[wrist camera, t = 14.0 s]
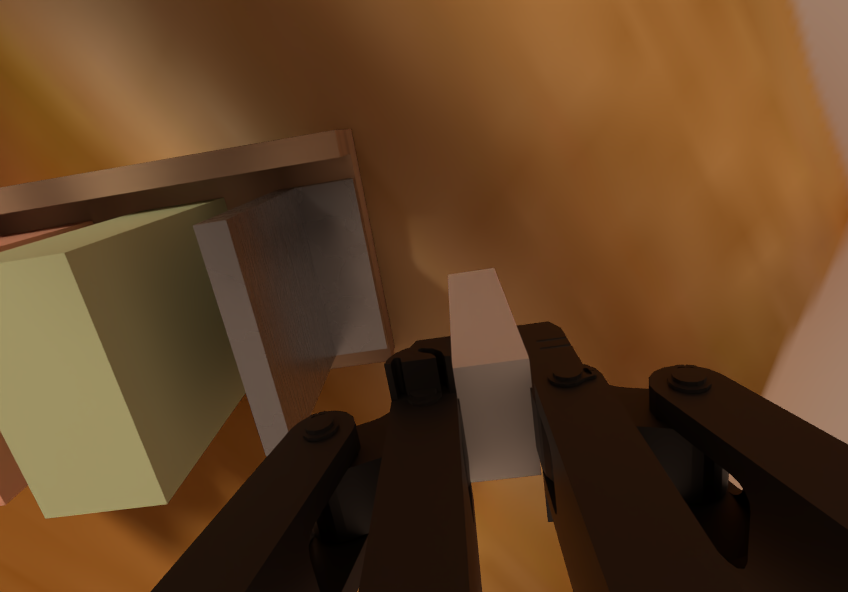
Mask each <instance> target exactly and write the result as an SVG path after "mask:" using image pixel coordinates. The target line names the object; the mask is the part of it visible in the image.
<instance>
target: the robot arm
mask: <svg viewBox="0 0 848 592" xmlns="http://www.w3.org/2000/svg"><path fill="white" fill-rule="evenodd" d="M448 291H449V311H450V332H451V336H448V337H441V338H434V339H426V340H419V341H416V342H415V343H414V344H413V345H412V346H411V347H410V348H407V349H404V350H402V351H400V352H397V353H395V354H394V355H392V356H391V357H389V358H388V359H387V361H386V362H385V364H384V366H385V371H386V376H387V380H388V385H389V390H390V395H391V400H392V402H391V408H390V412H389V413H388V414H386V415H384V416H383V417H381V418H378V419H376V420H373V421H371V422H368V423H364V424H361V425H358V426H356V424H355V421H354V418H353V416H351V415H350V414H348V413H346V412H341V411H323V412H319V413H318V414H317V413H316V414H313V415H310V416H309V417H307V418H306V419H304V420H302V421H300V422H298V423H297V424H296V425H295V426H294V427H293V428H291V429H290V431H289V432H288V433H287V434H286V435H285V436H284V438H283V439H282V440H281V441H280V442H279V443H278V445H277V446H276V447H275V448H274V449H273V450H272V451H271V453H270V454H269V455H268V456H267V457H266V458H265V460H264V461H263V462H262V463H261V464H260V465H259V467H258V468H257V469H256V470H255V471H254V472H253V474H252V475H251V476H250V477H249V478H248V479H247V480H246V482H245V483H244V484H243V485H242V486H241V487H240V489H239V490H238V491H237V492H236V493H235V494H234V496H233V497H232V498H231V499H230V500H229V501H228V503H227V504H226V505H225V506H224V507H223V508H222V509H221V511H220V512H219V513H218V514H217V515H216V516H215V518H214V519H213V520H212V521H211V522H210V523H209V525H208V526H207V527H206V528H205V529H204V530H203V532H202V533H201V534H200V535H199V536H198V537H197V538H196V540H195V541H194V542H193V543H192V544H191V545H190V547H189V548H188V549H187V550H186V551H185V552H184V554H183V555H182V556H181V557H180V558H179V559H178V561H177V562H176V563H175V564H174V565H173V566H172V567H171V569H170V570H169V571H168V572H167V573H166V574H165V576H164V577H163V578H162V579H161V580H160V581H159V583H158V584H157V585H156V586H155V587H154V588H153V590H152V591H151V592H357V591H358V588H359V591H358V592H482V586H481V575H480V564H479V553H478V542H477V532H476V521H475V510H474V499H473V493H472V487H471V482H480V481H489V480H498V479H507V478H516V477H525V476H534V475H541V468H540V462H541V466H542V469H543V477H544V487H545V497H546V507H547V517H548V522H554V525H555V529H556V532H557V536H558V539H559V543H560V546H561V550H562V553H563V557H564V560H565V564H566V567H567V571H568V575H569V578H570V582H571V585H572V589H573V592H848V444H846V443H844V442H842V441H841V440H839V439H837V438H835V437H833V436H831V435H830V434H828V433H826V432H824V431H823V430H821V429H819V428H817V427H815V426H814V425H812V424H810V423H808V422H806V421H804V420H803V419H801V418H799V417H797V416H796V415H794V414H792V413H790V412H788V411H787V410H785V409H783V408H781V407H779V406H778V405H776V404H774V403H772V402H770V401H769V400H767V399H765V398H763V397H762V396H760V395H758V394H756V393H754V392H753V391H751V390H749V389H747V388H745V387H744V386H742V385H740V384H738V383H736V382H735V381H733V380H731V379H729V378H727V377H726V376H724V375H722V374H720V373H717V372H715V371H712V370H710V369H707V368H701V367H697V366H694V365H686V366H684V365H675V366H671V367H664V368H662V369H659V370H657V371H654V372H653V373H652V375H651V376H650V377H649V389H640V388H624V387H616V386H612V385H609V384H608V383H607V381H606V379H605V378H604V376H603V375H602V374H601V373H600V372H599V371H598V370H597V369H596V368H593V367H591V366H588V365H585V364H582V362H581V360H580V359H579V357H578V355H577V354H576V352H575V350H574V349H573V347H572V346H571V344H570V342H569V341H568V339H567V338H566V336H565V334H564V332H563V331H562V329H561V328H560V327H558V326H556V325H554V324H552V323H550V322H541V323H534V324H526V325H519V326H516V323H515V321H514V318H513V315H512V313H511V310H510V308H509V305H508V302H507V300H506V297H505V295H504V292H503V289H502V287H501V284H500V282H499V279H498V276H497V274H496V271H495V269H494V268H490V269H483V270H476V271H469V272H462V273H455V274H449V275H448ZM729 474H731V475H732V476H733V477H734V478H735V479H736V480H737V481H738V482H739V483H740V485H741V486H742V488H743V490H740V489H739V488H737V487H736V486H735V485H733V484H732V483H731V482H730V481H729V480H728V477H729Z"/></svg>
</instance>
